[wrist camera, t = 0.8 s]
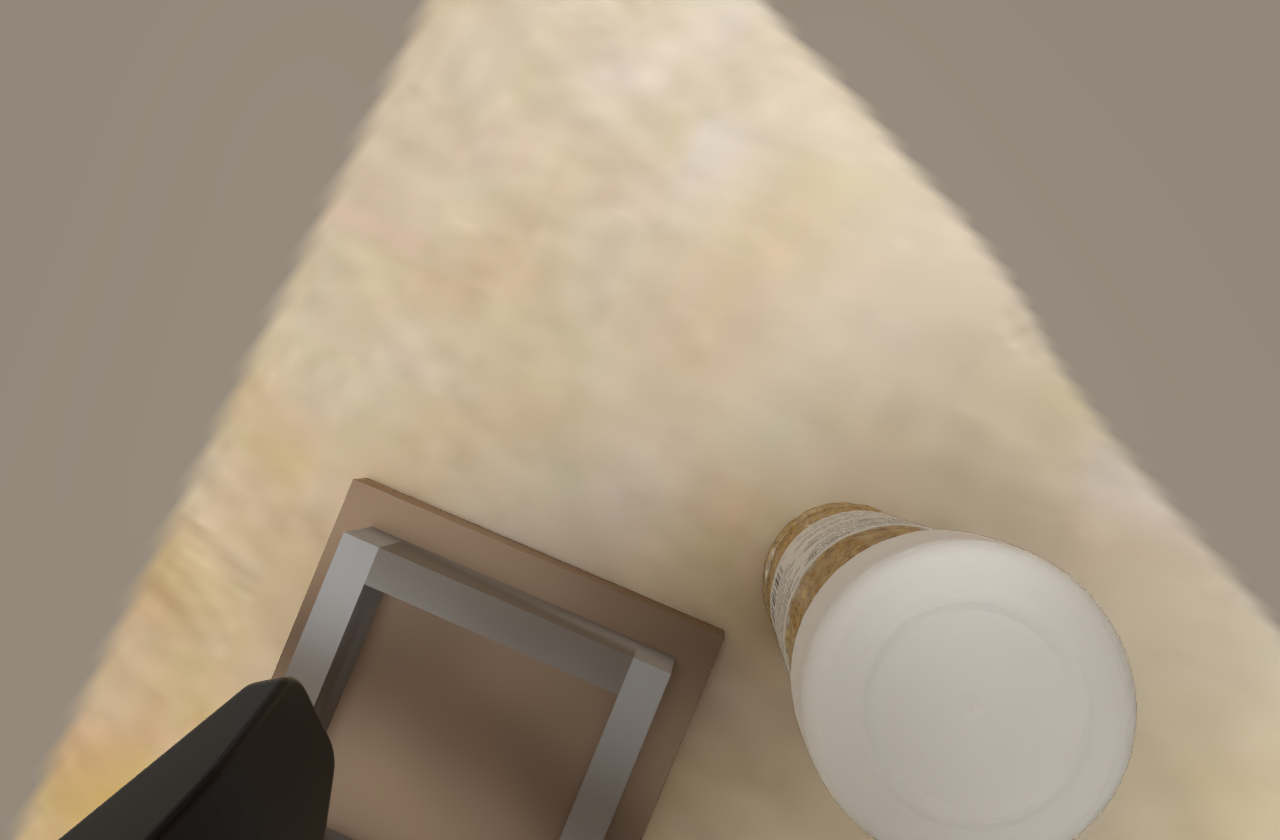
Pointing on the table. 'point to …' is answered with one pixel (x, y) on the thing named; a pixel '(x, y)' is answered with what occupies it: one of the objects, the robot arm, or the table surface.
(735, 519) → the table surface
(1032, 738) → the sprinkles bottle
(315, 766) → the robot arm
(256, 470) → the table surface
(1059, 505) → the table surface
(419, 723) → the socket board
